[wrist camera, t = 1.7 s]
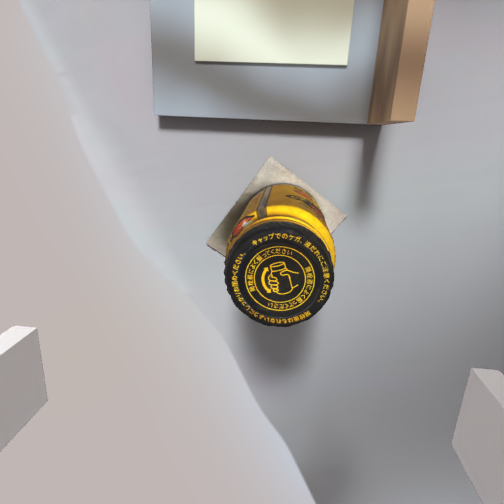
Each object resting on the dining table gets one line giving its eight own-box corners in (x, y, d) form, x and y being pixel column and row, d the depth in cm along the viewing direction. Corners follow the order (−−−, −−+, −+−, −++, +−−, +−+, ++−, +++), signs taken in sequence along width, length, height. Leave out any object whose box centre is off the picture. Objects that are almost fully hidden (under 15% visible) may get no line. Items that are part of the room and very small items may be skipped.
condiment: (346, 215, 27) (385, 271, 16) (277, 294, 30) (269, 390, 19) (270, 155, 27) (255, 170, 15) (206, 242, 29) (153, 309, 18)
